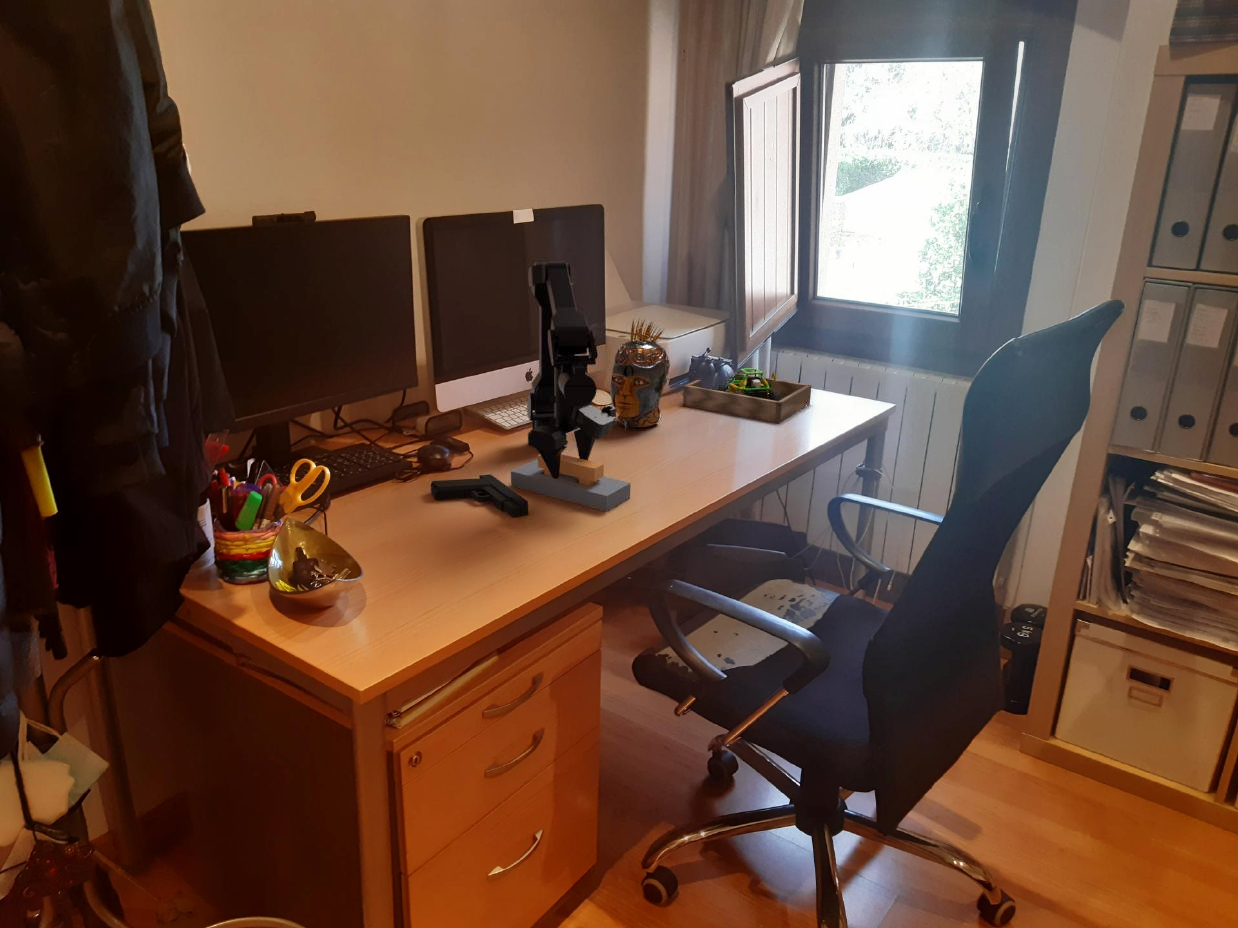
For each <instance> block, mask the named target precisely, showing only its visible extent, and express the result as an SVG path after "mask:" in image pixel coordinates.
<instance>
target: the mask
mask: <svg viewBox="0 0 1238 928" xmlns="http://www.w3.org/2000/svg"><path fill="white" fill-rule="evenodd" d="M634 321H635V320H634V318H633V319H632V323H631V331H630V340H629V341H627V342H625V343H621V345H620V347H618V349H617V351H616V354H615V356H614V363H613V367H612V371H611V378H610V382H609V383H610V384H609V385H610V386H609V389H610V399H611V405H612V406H613V407H615V408H616V414H617V416H616V420H618V421H619V423H620V424H622V425H624V431H625V432H624V433H626V432H627V429H628V428H630V427H631V428H642V427H649V426H653V425H656V424H658V423H659V422H660V421H661V419H662V413H661V406H659V405H660V400H661V397H662V395H663V391H664V388H665V386H666V384H667V383H668V377H669V376H668V375H669V374H670V372H669V371H670V366H671V364H670V358H669V354H668V353H667V351H666V350H665V348H663V347H662V345H659V344H657V343H658V342H659V340H658V339H659V338H660V336H661V335H662V334H663V333H664V332H665V330H664V329H662V330H661V329H659V330H658V331H657V332H656V330H657V328H658V327H659V325H657V323H656V324H655V325H654V321H650V322H649V323H646V324H645V327H644V323H645V321H646V319H643V320H642V319H641V320H640V317H639V319H638V321H637V324H635V322H634ZM640 321H641V322H640ZM653 325H654V326H653ZM656 325H657V327H656ZM635 327H636V329H635ZM643 327H644V330H643ZM655 327H656V328H655ZM654 328H655V329H654ZM655 333H656V334H655ZM654 334H655V335H654Z"/></svg>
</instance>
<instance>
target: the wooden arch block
mask: <svg viewBox="0 0 1238 928" xmlns="http://www.w3.org/2000/svg"><path fill="white" fill-rule="evenodd" d="M537 460H538V467H539V468H543V469H544V475H548V476H551V477H552V475H551V473H550V472H549V470H548V468H547V466H546V464H545V462H544V460H543V458H542V456H541V455H540V453H538V455H537ZM604 470H605V467H604V463H601V462H596V461H592V460H589V459H588V460H584V459H580V458H579V457H576V456H571V455H567V454H563V453H561V459H560V471H559V475H561V474H562V473H563V474H567V475H571V476H575V477H578V478H579V484H583V485H587V486H592V485H593V484H595V483H597V480H599V479H600V478H602V477H605V474H604Z"/></svg>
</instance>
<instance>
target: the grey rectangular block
mask: <svg viewBox="0 0 1238 928" xmlns="http://www.w3.org/2000/svg"><path fill="white" fill-rule="evenodd" d="M510 486H511V487H514V488H518V489H520V490H521V489H522V490H525V491H529V492H533V493H536V494H541V495H544V496H548V497H552V498H556V499H559V500H563V501H566V502H570V503H573V504H578V505H582V506H585V507H589V508H592V509H595V510H599V511H602V512H603V511H604V512H608V511H610V510H612V509H614V508H616V507H617V506H619V505H621V504H622V503H624V502H626V501H627V500H628V499H631V482H628V481H624V480H620V479H617V478H616V479H615V478H612V477H607V476H604V477H602V478H600V479H599V480H597V483H595V484H593V485H592V486H587V485H583V484H579V478H578V477H575V476H571V475H567V474H563V473H562V474H561V475H559V478H558V479H555V478H553V477H551V476H548V475H544V469H543V468H539V467H538V459H535V460H532V461H531V462H529V463H526V464H524V465H521V466H519V467H517V468H515V469H513V470H510Z"/></svg>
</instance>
